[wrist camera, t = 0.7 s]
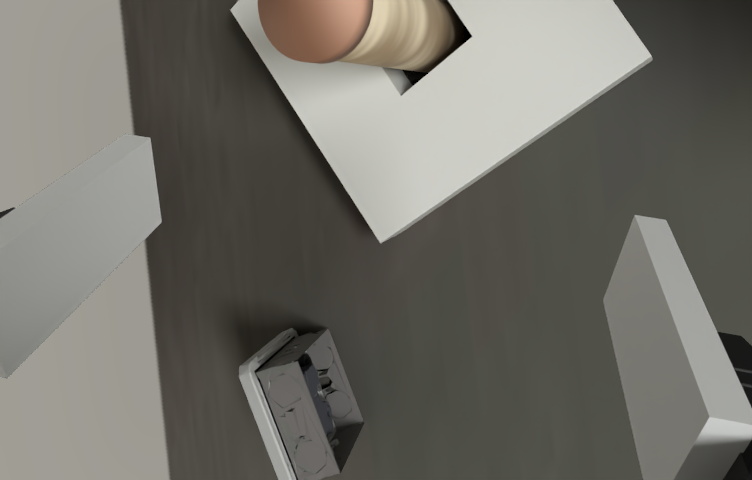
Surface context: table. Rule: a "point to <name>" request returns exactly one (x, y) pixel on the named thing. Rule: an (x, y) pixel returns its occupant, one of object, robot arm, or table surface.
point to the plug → (364, 31)
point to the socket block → (453, 100)
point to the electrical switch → (302, 405)
